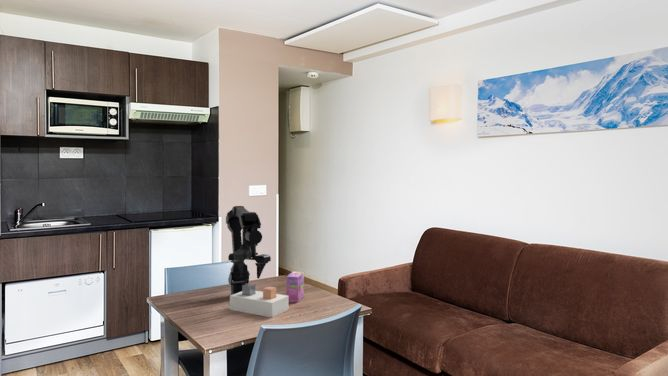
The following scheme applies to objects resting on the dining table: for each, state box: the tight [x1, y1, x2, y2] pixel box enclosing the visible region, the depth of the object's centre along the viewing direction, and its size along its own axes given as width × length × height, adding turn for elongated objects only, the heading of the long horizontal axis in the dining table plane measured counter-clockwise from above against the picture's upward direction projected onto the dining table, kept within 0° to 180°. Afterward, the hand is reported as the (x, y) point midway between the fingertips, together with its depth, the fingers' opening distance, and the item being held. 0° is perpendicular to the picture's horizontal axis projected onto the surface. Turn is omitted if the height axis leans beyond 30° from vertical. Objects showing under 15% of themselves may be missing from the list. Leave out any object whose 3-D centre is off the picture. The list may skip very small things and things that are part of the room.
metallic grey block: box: [242, 283, 256, 296], centre depth 197 cm, size 4×4×6 cm
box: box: [285, 271, 305, 303], centre depth 211 cm, size 10×6×12 cm, turn 168°
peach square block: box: [262, 285, 277, 299], centre depth 192 cm, size 4×4×6 cm
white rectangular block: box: [229, 290, 290, 318], centre depth 195 cm, size 22×12×6 cm, turn 63°
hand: (249, 277), depth 197 cm, fingers open, 9 cm apart
